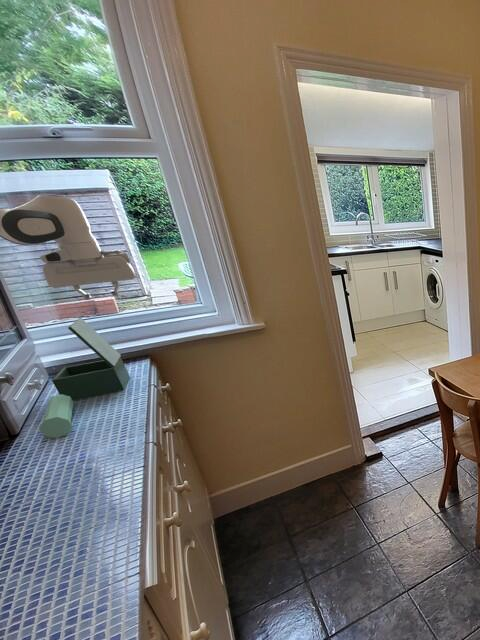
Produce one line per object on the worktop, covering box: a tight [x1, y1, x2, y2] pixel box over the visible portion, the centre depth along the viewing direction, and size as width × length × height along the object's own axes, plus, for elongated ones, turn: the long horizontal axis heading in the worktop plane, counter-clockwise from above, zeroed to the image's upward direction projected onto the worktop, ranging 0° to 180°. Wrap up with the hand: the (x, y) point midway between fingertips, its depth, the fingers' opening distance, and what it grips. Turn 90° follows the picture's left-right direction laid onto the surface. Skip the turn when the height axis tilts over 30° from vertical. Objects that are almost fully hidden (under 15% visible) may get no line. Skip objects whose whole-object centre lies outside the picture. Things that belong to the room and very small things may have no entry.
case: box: [51, 356, 131, 402], centre depth 136 cm, size 15×14×8 cm
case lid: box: [67, 317, 122, 367], centre depth 134 cm, size 15×14×1 cm
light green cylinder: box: [38, 394, 74, 439], centre depth 116 cm, size 6×6×25 cm
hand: (102, 297), depth 131 cm, fingers open, 5 cm apart
